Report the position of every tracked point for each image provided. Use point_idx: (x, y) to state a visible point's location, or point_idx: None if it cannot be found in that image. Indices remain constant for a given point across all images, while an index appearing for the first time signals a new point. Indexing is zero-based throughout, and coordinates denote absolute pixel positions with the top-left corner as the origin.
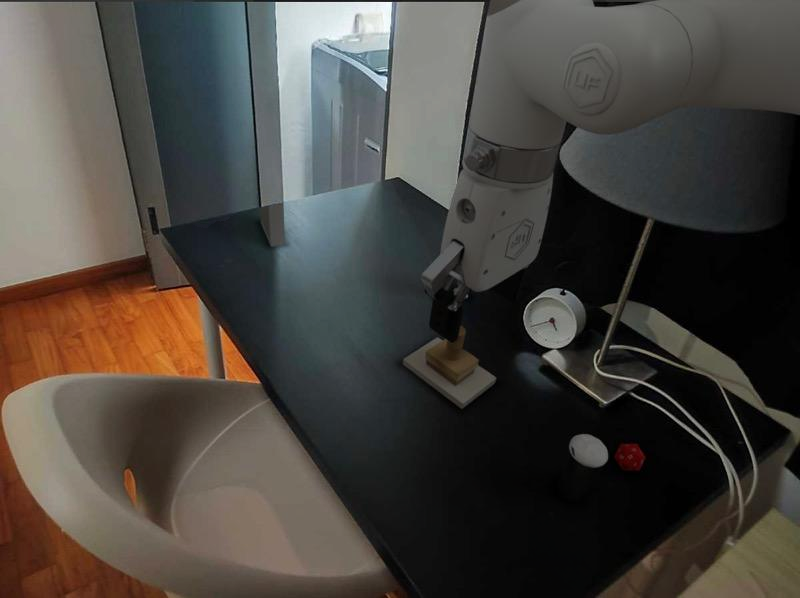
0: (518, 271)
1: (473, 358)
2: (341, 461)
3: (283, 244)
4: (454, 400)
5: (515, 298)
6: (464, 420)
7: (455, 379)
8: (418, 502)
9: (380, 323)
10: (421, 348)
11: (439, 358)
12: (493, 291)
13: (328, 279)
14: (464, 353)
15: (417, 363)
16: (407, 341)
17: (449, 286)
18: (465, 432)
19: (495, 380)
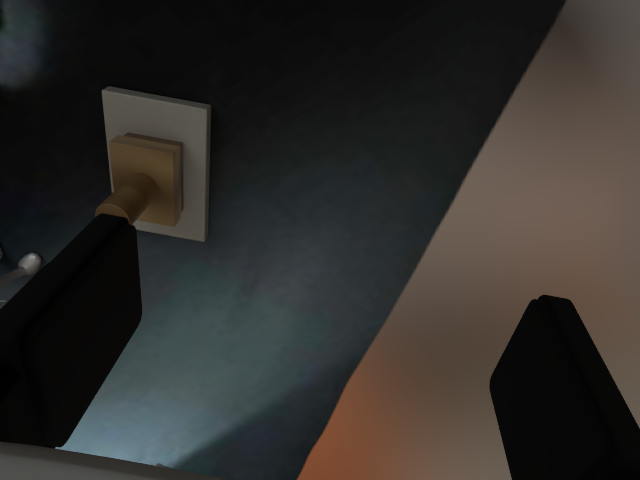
0: (25, 356)
1: (115, 152)
2: (435, 201)
3: (159, 465)
4: (208, 126)
5: (113, 228)
6: (228, 87)
7: (179, 151)
8: (435, 58)
9: (165, 303)
10: (160, 232)
11: (169, 200)
12: (141, 305)
13: (159, 396)
14: (119, 172)
15: (193, 219)
16: (161, 254)
17: (5, 274)
18: (250, 70)
19: (106, 88)
